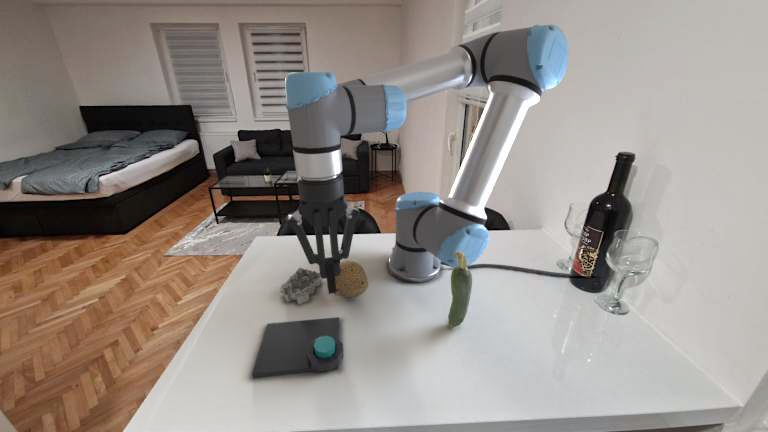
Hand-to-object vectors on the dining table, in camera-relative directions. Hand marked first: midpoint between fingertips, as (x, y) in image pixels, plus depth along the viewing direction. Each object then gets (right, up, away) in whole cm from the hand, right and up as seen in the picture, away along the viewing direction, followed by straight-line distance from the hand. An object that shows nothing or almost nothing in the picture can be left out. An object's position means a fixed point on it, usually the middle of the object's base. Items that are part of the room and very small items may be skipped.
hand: (331, 289), depth 60 cm
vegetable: (+27, -11, +8) cm, 30 cm away
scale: (-7, -13, +3) cm, 15 cm away
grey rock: (-11, -6, +20) cm, 24 cm away
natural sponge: (+2, -7, +18) cm, 19 cm away
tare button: (-1, -12, -1) cm, 12 cm away
